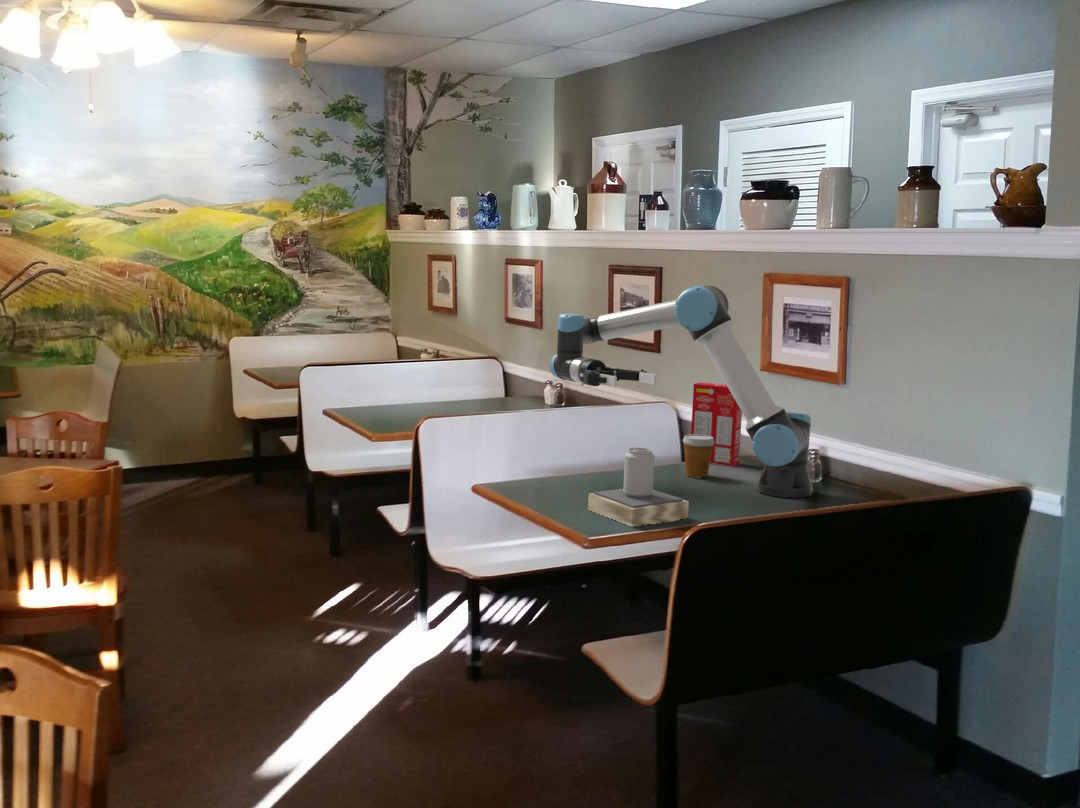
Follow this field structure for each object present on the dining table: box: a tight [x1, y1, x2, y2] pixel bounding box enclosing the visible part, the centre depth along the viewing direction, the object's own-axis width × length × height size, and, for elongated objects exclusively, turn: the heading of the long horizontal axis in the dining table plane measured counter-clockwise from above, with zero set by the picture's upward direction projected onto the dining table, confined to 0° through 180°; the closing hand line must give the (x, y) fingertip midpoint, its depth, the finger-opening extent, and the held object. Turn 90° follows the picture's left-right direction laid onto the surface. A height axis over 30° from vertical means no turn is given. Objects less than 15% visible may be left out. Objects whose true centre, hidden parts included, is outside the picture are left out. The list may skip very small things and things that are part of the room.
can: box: [622, 447, 656, 498], centre depth 265 cm, size 8×8×12 cm
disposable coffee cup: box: [682, 433, 715, 478], centre depth 314 cm, size 10×10×12 cm
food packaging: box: [690, 381, 743, 467], centre depth 336 cm, size 15×5×25 cm, turn 61°
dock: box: [587, 488, 690, 528], centre depth 266 cm, size 18×18×5 cm
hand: (635, 380), depth 280 cm, fingers open, 13 cm apart
